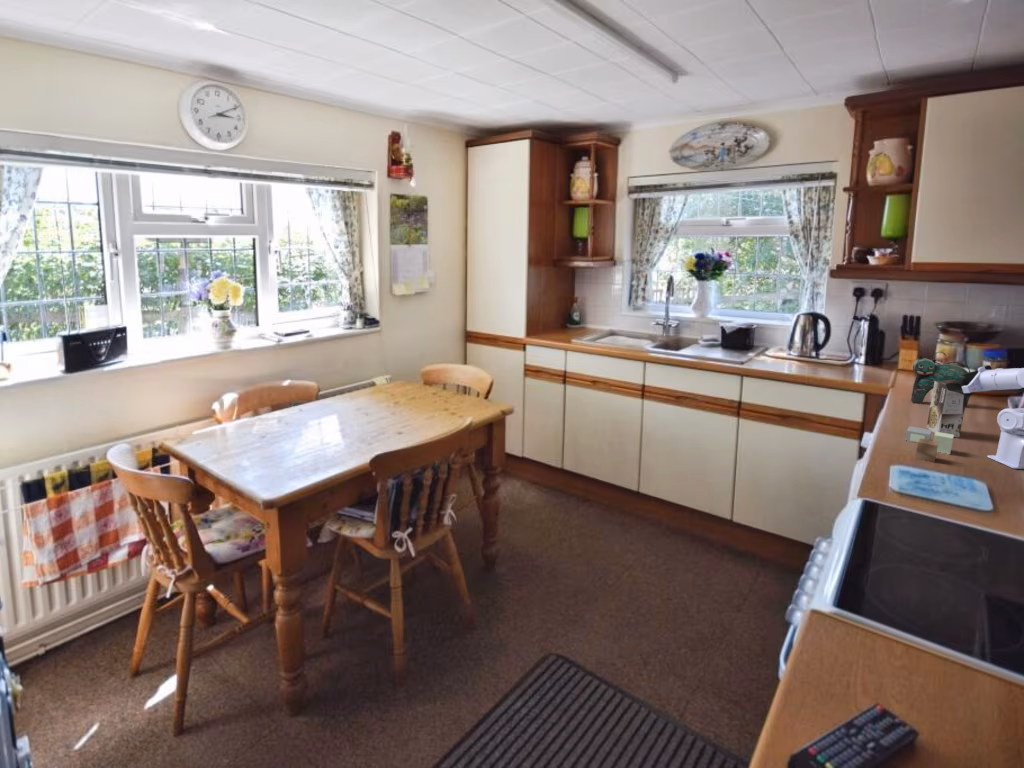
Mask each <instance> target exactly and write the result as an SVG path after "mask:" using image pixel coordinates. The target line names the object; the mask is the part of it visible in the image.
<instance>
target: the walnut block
mask: <svg viewBox="0 0 1024 768" xmlns="http://www.w3.org/2000/svg"><path fill="white" fill-rule="evenodd" d="M937 448H938V441H933V440H931V439H930V440H926V439H921V438H920V439H919V441H918V443H917V447H916V453H915V460H918V459H919V460H918V461H923V460H924V462H928V461H929V462H928V463H935V461H936V457H937V453H938V452H937Z"/></svg>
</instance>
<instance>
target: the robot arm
mask: <svg viewBox="0 0 1024 768" xmlns="http://www.w3.org/2000/svg"><path fill="white" fill-rule="evenodd" d="M969 382H970V383H969ZM946 387H947V389H948V390H949V391H953V392H957V393H960V394H962V395H964V396H965V397H969V396H970V397H972V395H973V392H975V393H976V392H989V391H1001V390H1020V389H1023V388H1024V367H1021V368H1019V367H1017V368H1016V367H1014V368H1003V367H1001V368H995V369H992V366H991V365H986V366H980V367H978V368H977V370H973V371H970V373H969V372H968V373H967V374H964V378H962V379H961V380H958V381H954V382H950V383H947V384H946ZM996 421H997V425H998V426H999V428H1000V431H1001V432H1000V435H999V441H998V445H997V450H996V454H995V455H993V454H991V455H990V454H989V455H987V458H989V459H992V460H994V461H995V462H997V463H1000V464H1002V465H1004V466H1007V467H1009V468H1011V469H1015V470H1016V469H1018V470H1019V469H1021V470H1022V469H1023V470H1024V407H1019V408H1010V407H1009V408H1003V409H1002V410H1000V411H999V413H998V414H997V417H996Z"/></svg>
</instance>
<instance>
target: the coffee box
mask: <svg viewBox="0 0 1024 768" xmlns="http://www.w3.org/2000/svg"><path fill="white" fill-rule="evenodd" d="M950 382H954V381H935V382H934V388H933V389H932V393H931V401H930V406H929V412H928V418H927V423H926V429H929V430H932V433H934V434H935V432H941V433H947V434H953V435H954V437H953V438H960V436H961V431H962V425H963V420H964V416H965V410H966V407H965V406H966V401H967V397H965V396H964V395H962V394H960V393H957V392H953V391H949V390H948V389H947V387H946V384H947V383H950Z"/></svg>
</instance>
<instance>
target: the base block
mask: <svg viewBox="0 0 1024 768" xmlns="http://www.w3.org/2000/svg"><path fill="white" fill-rule="evenodd" d="M905 433H906V434H905V438H904V441H905V440H907V441H906V442H909V441H913V442H912V443H914V442H918V441H919V439H920V438H921V439H926V440H931V438H932V433H933V432H932V430H929V429H927V428H921V427H916V426H911V425H909V426H908V428H907V429H906V432H905Z"/></svg>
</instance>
